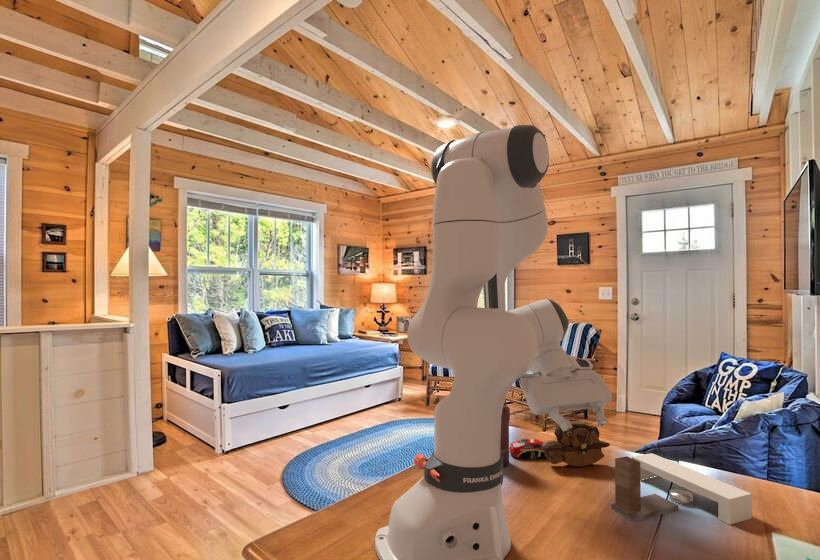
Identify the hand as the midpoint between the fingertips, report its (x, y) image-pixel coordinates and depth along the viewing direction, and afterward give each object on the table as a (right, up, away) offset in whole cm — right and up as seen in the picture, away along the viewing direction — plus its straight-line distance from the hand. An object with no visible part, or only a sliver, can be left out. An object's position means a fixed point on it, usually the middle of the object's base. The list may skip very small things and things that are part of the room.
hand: (586, 427), depth 91 cm
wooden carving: (+3, -14, +13) cm, 19 cm away
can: (-16, -14, +14) cm, 25 cm away
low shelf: (+19, -13, -2) cm, 24 cm away
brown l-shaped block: (+8, -13, -8) cm, 17 cm away
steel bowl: (+17, -13, -4) cm, 22 cm away
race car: (-5, -14, +19) cm, 25 cm away
